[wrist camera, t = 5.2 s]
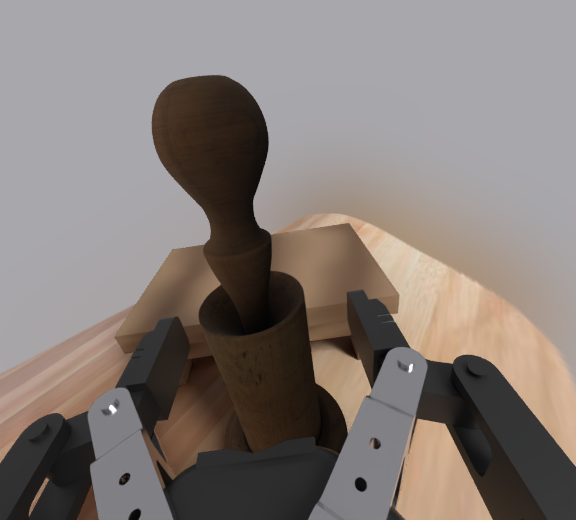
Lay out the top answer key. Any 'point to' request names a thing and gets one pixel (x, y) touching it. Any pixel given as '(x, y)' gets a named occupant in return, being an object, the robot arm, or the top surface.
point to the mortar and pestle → (244, 268)
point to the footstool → (285, 258)
